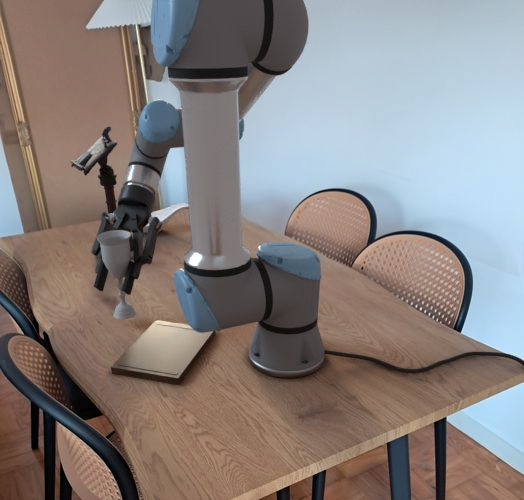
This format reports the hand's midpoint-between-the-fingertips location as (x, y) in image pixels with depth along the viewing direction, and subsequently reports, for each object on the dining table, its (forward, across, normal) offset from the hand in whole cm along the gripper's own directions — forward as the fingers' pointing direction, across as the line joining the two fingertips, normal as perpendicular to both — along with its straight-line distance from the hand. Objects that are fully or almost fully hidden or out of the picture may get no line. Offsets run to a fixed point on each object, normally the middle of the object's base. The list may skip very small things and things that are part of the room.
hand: (112, 290), depth 116 cm
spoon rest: (-40, +18, -54) cm, 70 cm away
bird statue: (-21, +24, -35) cm, 48 cm away
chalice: (+3, 0, -8) cm, 8 cm away
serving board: (+11, -14, -3) cm, 18 cm away
